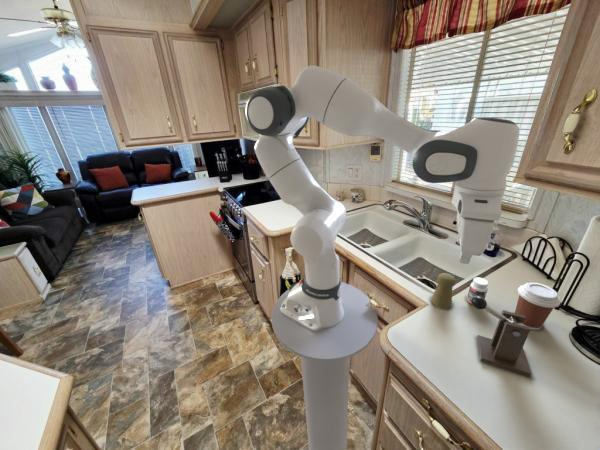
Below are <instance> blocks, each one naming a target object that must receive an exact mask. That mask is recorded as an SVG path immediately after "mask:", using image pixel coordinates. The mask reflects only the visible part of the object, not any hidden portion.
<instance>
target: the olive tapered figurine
mask: <svg viewBox="0 0 600 450" xmlns="http://www.w3.org/2000/svg"><path fill="white" fill-rule="evenodd" d="M436 281H437V285H436V287H435V290H434V292H433V295H432V296H431V303H432V304H433V305H434V306H435V307H436V308H439V309H444V310H445V309H450V308H451V307H452V304H453V303H452V302H453V287H454V286H455V285H456V282H457V281H456V278H455V276H454V275H453V274H450V273H447V272H441V273H439V274H438V275H437V278H436Z"/></svg>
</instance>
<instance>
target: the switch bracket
mask: <svg viewBox="0 0 600 450" xmlns="http://www.w3.org/2000/svg"><path fill="white" fill-rule="evenodd" d="M501 314H502V315H504V316H505V317H507V318H509V317H511V316H512V317H513V318H515V319H516V320H518V321H520V322H521V323H522V324H523V323H524V321H525V319H526V318H525V316H524V315H520V314H516V313H515V312H512V311H508V310H507V311H506V310H501ZM530 332H531V329H530V328H529V327H526V326H522V325H518V324H514V323H510V322H506V323H505V325H504V322H503V321H501V320H500V319H498V322H497V324H496V328H495V330H494V333H493V336H492V338H489V337H486V336H484V335H483V336H482V335H480V334H477V336H476V340H477V347H478V354H479V360H480V362H482V363H485V364H487V365H488V364H489V365H491V366H495V367H498V368H501V369H504V370H507V371H510V372H513V373H516V374H520V375H522V376H526V377H531V376H532V375H533V374H532V370H531V368H530V365H529V361H528V359H527V356H526V352H525V349H524V346H525V344H526V341H527V339H528V336H529V334H530Z"/></svg>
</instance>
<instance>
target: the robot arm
mask: <svg viewBox="0 0 600 450" xmlns="http://www.w3.org/2000/svg"><path fill="white" fill-rule="evenodd" d="M379 100H380V99H379ZM379 100H378V98H377V97H376V96H374V94H372V93H371V92H370V91H368V90H367V89H366V88H365V87H364V86H362V85H361V84H359V83H357V82H356V81H354V80H352V79H351V78H350V77H347V76H346V75H343V74H341V73H339V72H337V71H334V70H332V69H328V68H325V67H321V66H319V65H307V66H306V67H304V68H303V69H302V70H301V71H299V73H298V75H297V76H296V78H295V81H294V83H293V84H292V86H290V87H286V86H285V85H276V86H275V85H274V86H267V87H262V88H260V89H258V90H256V91H254V92H253V93H251V95H250V96H249V97H248V99H247V100H246V104H245V111H244V112H245V118H246V121H247V123H248V125H249V127H250V128H251V130H253V132H255V133H257V134H258V135H260V136H259V137H258V138H257V140H256V142H255V143H254V153H255V155H256V158H257V160H258V163H259V165H260V166H261V170H262V171H263V172H264V174H265V176H266V177H267V179H268V180H269V182H270V184H271V186H272V187H273V188H274V191H276V193H277V195H278V196H279V198H280V199H281V201H282V202H283V203H284V204H286V205H290V206H292V207H294V208H296V210H297V211H299V212H300V213H301V214H302V215H303V216H302V217H301V218H300V219H299V220H298V221H297V222H296V224H295V225H294V226H293V229H292V231H291V233H290V238H289V240H290V241H289V242H290V244H291V246H292V248H293V250H294V251H295V252H296V253H297V254H298V255H300V256H301V257H302V259H303V263H304V274H303V275H302V276H301V278H300V280H299V281H298V282H297V281H296V282H295V283H293V284H291V285H290V286H289V287H288V290H289V294H288V296H287V297H286V298H285V300H284V301H283V303H282V305H281V314H282V315H284V316H286V317H288V318H289V319H291V320H293V321H295V322H296V323H298V324H300V325H302V326H303V327H305V328H307V329H308V330H310V331H312V332H316V331H318V330H320V329H322V328H328V327H332V326H335V325H337V324H338V323H339V322H340V321H341V320H342V319H343V317H344V309H343V306H342V303H341V297H340V295H341V282H342V279H341V277H340V272H341V269H340V268H341V267H340V257H339V255H338V253H336V249H335V244H336V239H337V236H338V235H339V233H340V232H341V230H342V229H343V227H344V226H345V222H346V218H347V209H346V208H345V206H344V204H343V203H342V202H341V201H340V200H337V199H334V198H333V197H332V196H331V195H330V194H329V193H328V192H327V191H326V190H325V189H324V188H323V187H322V186H321V185H320V184H319V183H318V182H317V180H316V179H315V177H314V176H313V174H312V173H311V172H310V170H309V168H308V167H307V165H306V163H305V162H304V161H303V158H302V157H301V156H300V154H299V153H298V151H297V150H296V148H295V145H294V141H293V140H294V139H297V138H298V137H299V135H300V134H301V132H302V131H303V130H304V128H305V127H306V126H307V124H308V123H309V121H310V119H313V120H314V121H316V122H318V123H320V124H322V125H323V126H325V127H326V128H329V129H330V130H332V131H335V132H337V133H339V134H342V135H345V136H346V135H347V136H349V137H373V138H378V139H381V140H384V141H385V142H388V143H389V144H391V145H393V146H395V147H397V148H398V149H400V150H402V151H404V152H406V153H408V154H409V155H410V156H411V157H412V169H413V172H414V174H415V175H416V177H417V178H418V179H420V180H422V181H423V182H426V183H429V184H443V183H454V182H455V184H454V188H453V193H452V197H451V205H452V206H454V207H455V208H456V225H457V232H458V233H457V234H458V236H457V245H459V246H460V247H459V248H460V254H459V263H460V264H462V265H463V264H465V265H469V264H470V262H471V258H472V257H473V256H475V257H480V256H482V255H483V253H484V252H485V250H486V248H487V246H488V244H489V241H490V238H491V235H492V233H493V230H494V228H495V227H494V226H495V222H498V221H500V219H501V216H502V203H503V200H504V195H505V192H506V188H507V176H508V174H509V171H510V170H511V169H512V168H513V165H514V162H515V158H516V153H517V150H518V144H519V139H520V128H519V126H518V124H517V123H515V122H514V121H512V120H510V119H505V118H497V117H491V116H477V117H474V118H473V119H472V120H471V121H469V122H467V123H465V124H464V125H461V126H459V127H457V128H455V129H453V130H450V131H445V130H435V129H434V130H432V129H425V128H423V127H421V126H418V125H417V124H415V123H413V122H411V121H409V120H407V119H405V118H403V117H401V116H399V115H397V114H396V113H394V112H393V111H391V110H390V109H389V108H387V107H386V106H385V105H384V104H383V103H382V102H381V101H379Z"/></svg>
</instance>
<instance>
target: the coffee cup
mask: <svg viewBox="0 0 600 450" xmlns="http://www.w3.org/2000/svg"><path fill="white" fill-rule="evenodd" d="M517 293H518V299H517V303H516V307H515V311H514V313H516V314H520V315H524V316H525V318H526V319H525V321H524V323H523V326H526V327H529V328H530V330H535V331H536V330H537V331H538V330H541V329H542V327H543V325H544V324H545V323H546V321H547V319H548V318H549V316H550V314H551V313H552V311H553V310H554V308H559V306H560V305H561V303H562V300H561V298H560V297H559V294H558V292H557V291H556V290H555V289H554V288H552V287H551V286H548V285H546V284H543V283H540V282H536V281H535V282H532V281H530V282H526V283H525V284H521V285H520V286H519V287H518V288H517Z"/></svg>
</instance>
